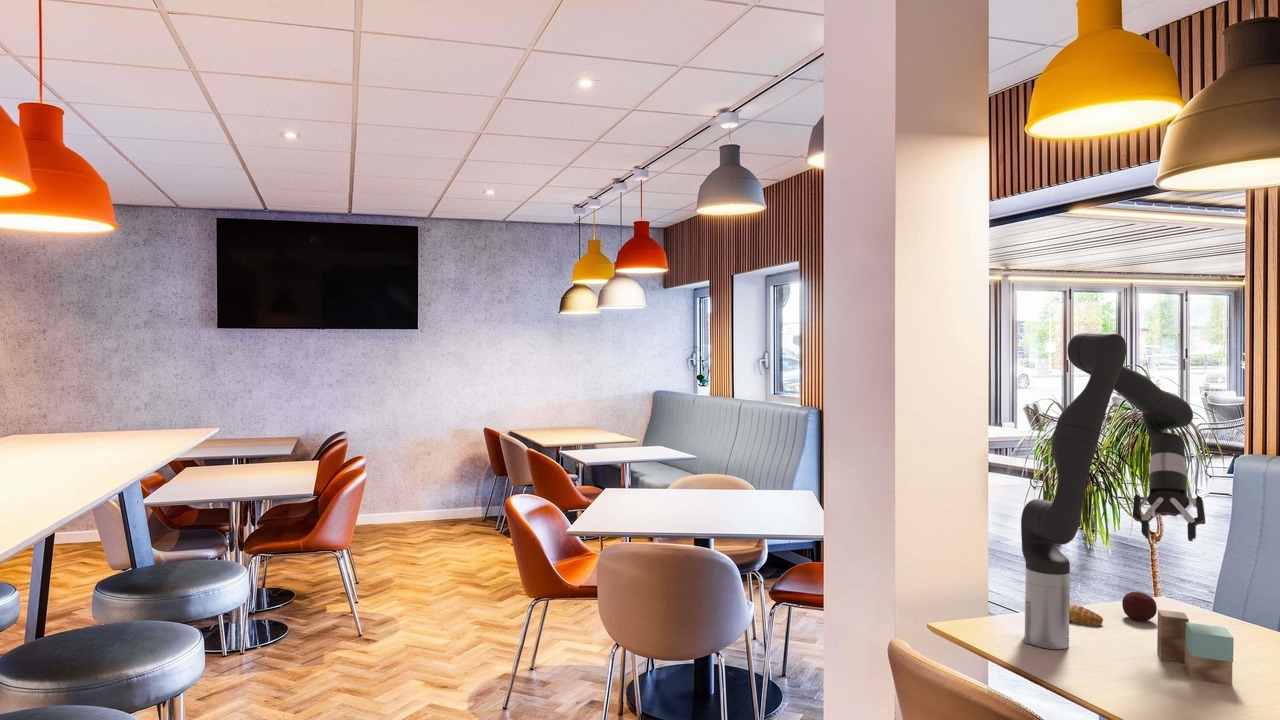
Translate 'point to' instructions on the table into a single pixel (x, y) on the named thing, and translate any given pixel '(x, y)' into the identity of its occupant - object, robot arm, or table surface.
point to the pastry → (1084, 616)
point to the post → (1171, 636)
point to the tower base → (1208, 669)
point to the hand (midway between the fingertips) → (1168, 538)
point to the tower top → (1209, 642)
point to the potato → (1139, 606)
